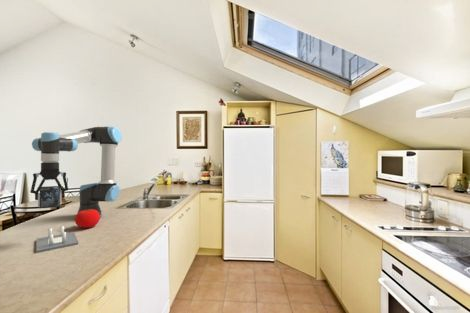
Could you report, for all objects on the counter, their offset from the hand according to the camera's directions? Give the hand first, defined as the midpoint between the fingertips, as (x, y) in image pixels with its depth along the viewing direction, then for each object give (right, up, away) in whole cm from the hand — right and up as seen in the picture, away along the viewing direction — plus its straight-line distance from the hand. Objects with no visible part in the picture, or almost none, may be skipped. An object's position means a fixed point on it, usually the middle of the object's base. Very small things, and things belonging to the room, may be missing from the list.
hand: (50, 205), depth 123 cm
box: (0, -1, 0) cm, 1 cm away
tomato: (+7, -18, +21) cm, 28 cm away
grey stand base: (+7, -18, -4) cm, 20 cm away
